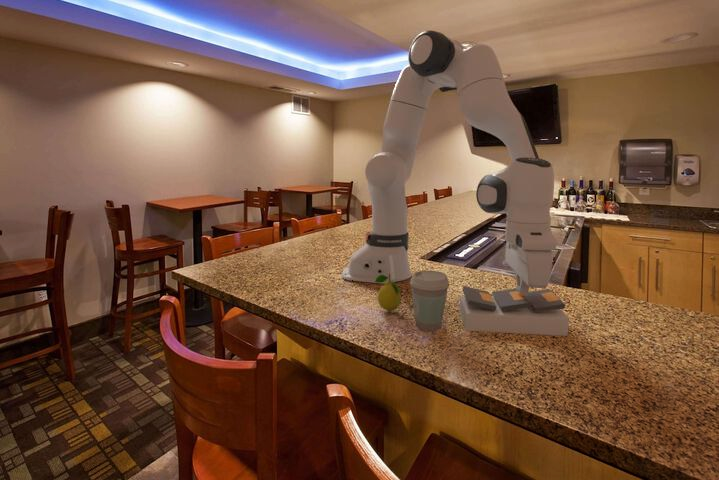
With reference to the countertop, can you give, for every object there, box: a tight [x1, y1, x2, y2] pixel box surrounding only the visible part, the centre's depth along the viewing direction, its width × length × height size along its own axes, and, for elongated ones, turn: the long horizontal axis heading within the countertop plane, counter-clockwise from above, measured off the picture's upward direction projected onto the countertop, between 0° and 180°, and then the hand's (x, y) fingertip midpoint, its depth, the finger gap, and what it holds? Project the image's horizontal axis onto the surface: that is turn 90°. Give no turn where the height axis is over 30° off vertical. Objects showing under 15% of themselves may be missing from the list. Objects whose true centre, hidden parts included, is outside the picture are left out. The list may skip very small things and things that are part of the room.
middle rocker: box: [492, 287, 531, 311], centre depth 84 cm, size 6×9×1 cm, turn 170°
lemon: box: [375, 274, 403, 313], centre depth 90 cm, size 7×6×10 cm
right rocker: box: [524, 288, 566, 312], centre depth 83 cm, size 6×9×1 cm, turn 170°
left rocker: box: [462, 285, 497, 311], centre depth 85 cm, size 6×9×1 cm, turn 174°
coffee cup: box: [409, 270, 450, 332], centre depth 82 cm, size 8×8×12 cm
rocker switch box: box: [458, 294, 570, 337], centre depth 84 cm, size 21×11×4 cm, turn 82°
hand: (522, 293), depth 83 cm, fingers closed
